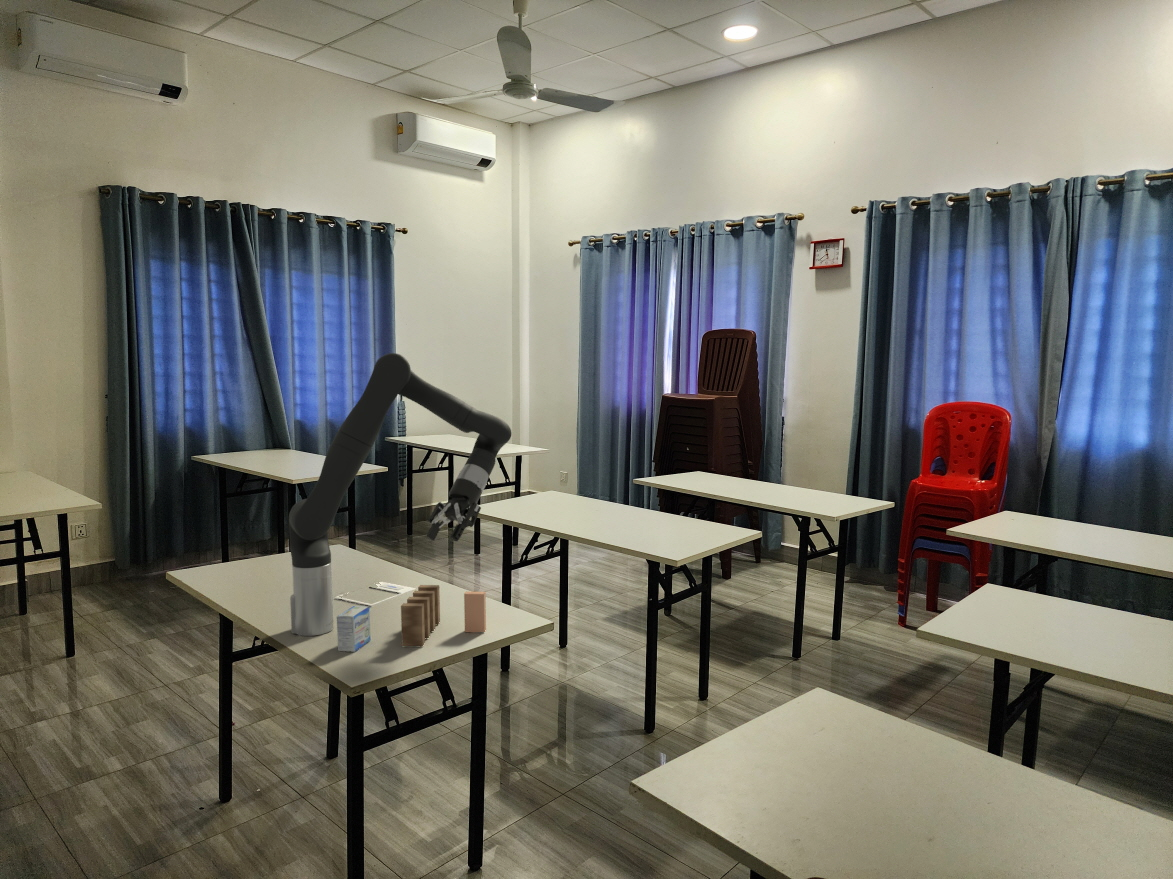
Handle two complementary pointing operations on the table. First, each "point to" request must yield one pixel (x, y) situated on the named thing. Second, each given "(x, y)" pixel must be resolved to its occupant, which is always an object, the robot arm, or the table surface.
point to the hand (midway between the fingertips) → (441, 539)
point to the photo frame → (386, 587)
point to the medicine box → (353, 628)
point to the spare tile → (475, 611)
